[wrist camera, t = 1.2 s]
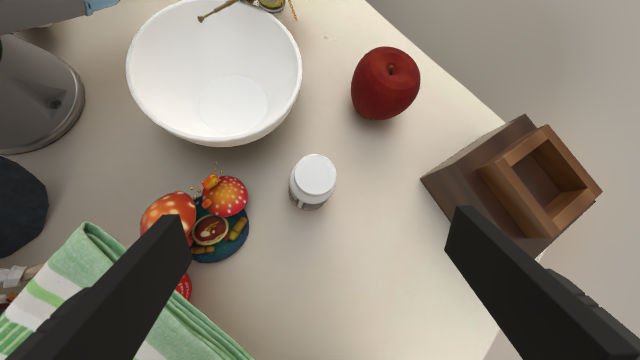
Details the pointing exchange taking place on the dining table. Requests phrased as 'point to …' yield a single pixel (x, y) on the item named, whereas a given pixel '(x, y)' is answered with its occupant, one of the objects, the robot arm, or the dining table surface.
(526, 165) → the socket stand
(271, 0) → the supplement bottle
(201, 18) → the walkie talkie
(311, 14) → the dining table surface
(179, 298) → the dish towel
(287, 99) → the bowl
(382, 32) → the dining table surface
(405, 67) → the apple
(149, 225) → the figurine
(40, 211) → the figurine
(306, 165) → the pill bottle
